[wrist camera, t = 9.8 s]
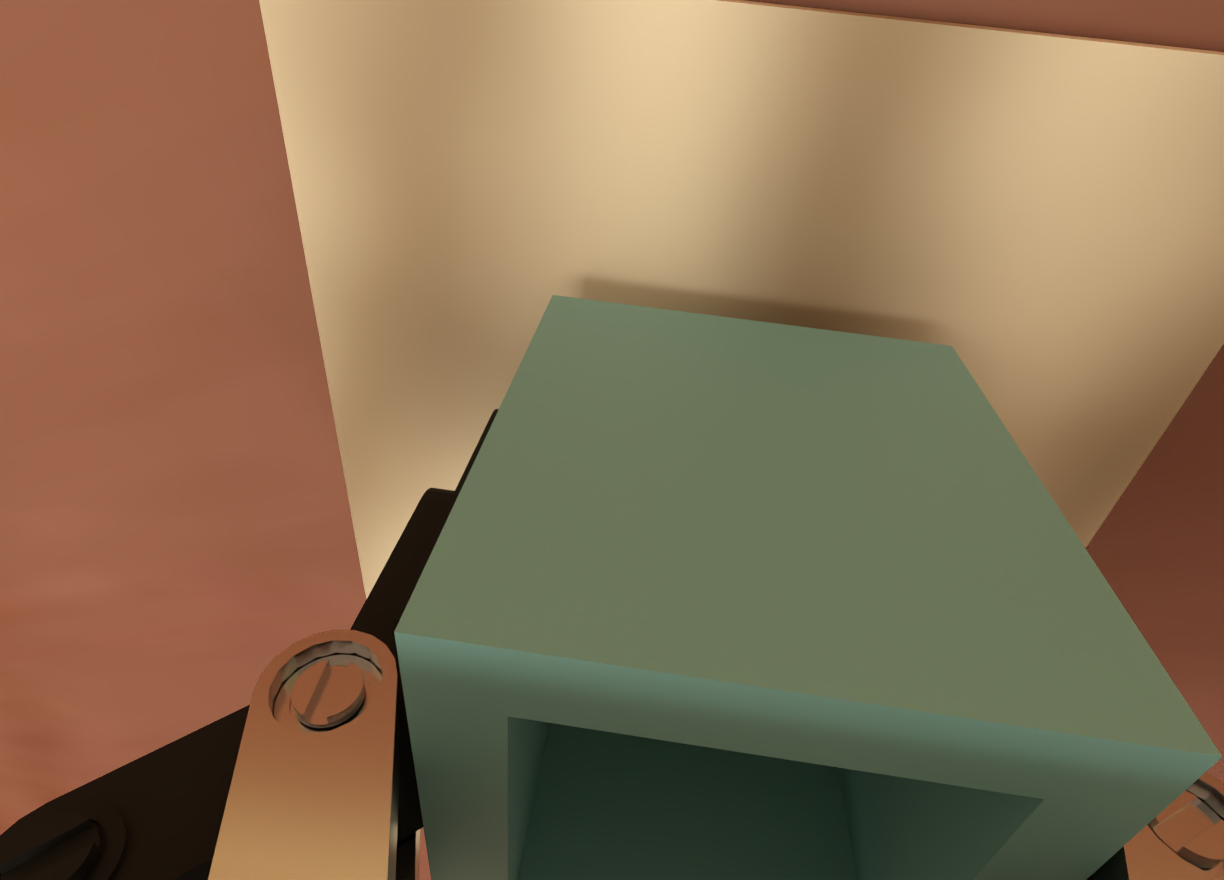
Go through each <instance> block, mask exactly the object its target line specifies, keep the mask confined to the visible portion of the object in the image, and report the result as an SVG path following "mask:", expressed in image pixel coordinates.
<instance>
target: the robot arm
mask: <svg viewBox="0 0 1224 880" xmlns="http://www.w3.org/2000/svg"><path fill="white" fill-rule="evenodd" d="M498 410H499V409H495V410H494V411H493V413H492V415H491V417H490V419H489V421H488V423H487V425H486V427H485V429H484V431H483V433H482V435H481V437H480V440H479V442H478V444H477V446H476V448H475V450H474V452H473V454H472V456H471V458H470V460H469V462H468V465H467V467H466V469H465V471H464V473H463V475H462V477H461V479H460V481H459V483H458V485H457V487H456V489H455V491H453V490H445V489H438V488H429V489H428V490H426V492H425V493H424V494H423V496H422V497H421V499H420V501H419V503H418V505H417V507H416V508H415V510H414V512H413V514H412V516H411V518H410V520H409V521H408V523H407V525H406V527H405V529H404V531H403V533H402V535H401V536H400V538H399V540H398V542H397V544H396V546H395V548H394V549H393V551H392V553H391V555H390V557H389V559H388V561H387V562H386V564H385V566H384V568H383V570H382V572H381V574H380V575H379V577H378V579H377V581H376V583H375V585H374V587H373V588H372V590H371V592H370V594H369V596H368V598H367V600H366V601H365V603H364V605H363V607H362V609H361V611H360V613H359V614H358V616H357V618H356V620H355V622H354V624H353V626H352V627H351V629H350V630H331V631H326V632H322V633H317V634H313V635H311V636H309V637H306V638H304V639H302V640H300V641H298V642H296V643H293V644H292V645H290V646H289V647H288V648H286V649H285V650H284V651H282V652H281V653H280V654H278V655H277V656H276V657H275V658H274V659H273V660H272V661H271V662H270V664H269V665H268V666H267V667H266V668H265V670H264V671H263V672H262V673H261V675H260V677H259V680H258V682H257V684H256V687H255V689H254V691H253V694H252V698H251V703H250V705H248V706H246V707H244V708H242V709H240V710H238V711H236V712H234V713H232V714H230V715H228V716H226V717H224V718H221V719H219V720H217V721H215V722H213V723H211V724H209V725H207V726H205V727H203V728H201V729H199V730H197V731H195V732H193V733H190V734H188V735H186V736H184V737H182V738H180V739H178V740H176V741H174V742H172V743H170V744H168V745H166V746H164V747H162V748H159V749H157V750H155V751H153V752H151V753H149V754H147V755H145V756H143V757H141V758H139V759H137V760H135V761H133V762H130V763H128V764H126V765H124V766H122V767H120V768H118V769H116V770H114V771H112V772H110V773H108V774H106V775H104V776H102V777H99V778H97V779H95V780H93V781H91V782H89V783H87V784H85V785H83V786H81V787H79V788H77V789H75V790H73V791H71V792H68V793H66V794H64V795H62V796H60V797H58V798H56V799H54V800H52V801H50V802H48V803H46V804H44V805H43V806H41V807H39V808H38V809H36V810H34V811H33V812H31V813H29V814H28V815H26V816H24V817H23V818H21V819H19V820H18V821H17V822H16V823H15V824H13V825H12V826H11V827H10V828H9V829H8V830H6V831H5V832H4V833H3V834H2V835H1V836H0V880H419V859H420V829H421V828H422V827H424V826H423V820H422V813H421V807H420V800H419V793H418V787H417V780H416V773H415V767H414V760H413V753H412V747H411V740H410V734H409V727H408V720H407V714H406V707H405V700H404V694H403V687H402V681H401V674H400V667H399V661H398V654H397V647H396V641H395V634H394V631H395V629H396V627H397V625H398V623H399V621H400V619H401V616H402V614H403V612H404V610H405V608H406V606H407V604H408V602H409V599H410V597H411V595H412V593H413V591H414V589H415V587H416V585H417V582H418V580H419V578H420V576H421V574H422V572H423V570H424V568H425V565H426V563H427V561H428V559H429V557H430V555H431V553H432V551H433V548H434V546H435V544H436V542H437V540H438V538H439V536H440V534H441V531H442V529H443V527H444V525H445V523H446V521H447V519H448V516H449V514H450V512H451V510H452V508H453V506H454V504H455V502H456V499H457V497H458V495H459V493H460V491H461V489H462V487H463V485H464V482H465V480H466V478H467V476H468V474H469V472H470V470H471V468H472V465H473V463H474V461H475V459H476V457H477V455H478V453H479V451H480V448H481V446H482V444H483V442H484V440H485V438H486V436H487V433H488V431H489V429H490V427H491V425H492V423H493V421H494V419H495V416H496V414H497V412H498ZM1087 880H1224V783H1222V782H1221V781H1219V780H1218V779H1217V778H1215V777H1214V776H1212V775H1211V774H1209V773H1208V772H1205V773H1204V774H1203V775H1202V776H1201V777H1200V778H1198V779H1197V780H1196V781H1195V782H1194V783H1193V784H1192V785H1191V786H1190V787H1188V788H1187V789H1186V790H1185V791H1184V792H1183V793H1182V794H1181V795H1180V796H1179V797H1177V798H1176V799H1175V800H1174V801H1173V802H1172V803H1171V804H1170V805H1169V806H1167V807H1166V808H1165V809H1164V810H1163V811H1162V812H1161V813H1160V814H1159V815H1157V816H1156V817H1155V818H1154V819H1153V820H1152V821H1151V822H1150V823H1149V824H1147V825H1146V826H1145V827H1144V828H1143V829H1142V830H1141V831H1140V832H1139V833H1138V834H1136V835H1135V836H1134V837H1133V838H1132V839H1131V840H1130V841H1129V842H1128V843H1126V844H1125V845H1124V846H1123V847H1122V848H1121V849H1120V850H1119V851H1118V852H1116V853H1115V854H1114V855H1113V856H1112V857H1111V858H1110V859H1109V860H1108V861H1107V862H1105V863H1104V864H1103V865H1102V866H1101V867H1100V868H1099V869H1098V870H1097V871H1095V872H1094V873H1093V874H1092V875H1091V876H1090V877H1089V878H1088V879H1087Z"/></svg>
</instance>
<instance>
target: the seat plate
mask: <svg viewBox="0 0 1224 880" xmlns="http://www.w3.org/2000/svg"><path fill="white" fill-rule="evenodd" d="M259 1H260V7H261V12H262V18H263V23H264V29H265V35H266V40H267V46H268V51H269V57H270V62H271V68H272V74H273V79H274V85H275V90H276V96H277V102H278V107H279V113H280V118H281V124H282V130H283V135H284V141H285V146H286V152H287V158H288V163H289V169H290V174H291V180H292V186H293V191H294V197H295V202H296V208H297V213H298V219H299V225H300V230H301V236H302V241H303V247H304V253H305V258H306V264H307V269H308V275H309V281H310V286H311V292H312V297H313V303H314V309H315V314H316V320H317V325H318V331H319V336H320V342H321V348H322V353H323V359H324V364H325V370H326V376H327V381H328V387H329V392H330V398H331V404H332V409H333V415H334V420H335V426H336V432H337V437H338V443H339V448H340V454H341V460H342V465H343V471H344V476H345V482H346V487H347V493H348V499H349V504H350V510H351V515H352V521H353V527H354V532H355V538H356V543H357V549H358V555H359V560H360V566H361V571H362V577H363V583H364V588H365V594H366V599H367V598H368V596H369V594H370V592H371V590H372V588H373V587H374V585H375V583H376V581H377V579H378V577H379V575H380V574H381V572H382V570H383V568H384V566H385V564H386V562H387V561H388V559H389V557H390V555H391V553H392V551H393V549H394V548H395V546H396V544H397V542H398V540H399V538H400V536H401V535H402V533H403V531H404V529H405V527H406V525H407V523H408V521H409V520H410V518H411V516H412V514H413V512H414V510H415V508H416V507H417V505H418V503H419V501H420V499H421V497H422V496H423V494H424V493H425V492H426V490H428V489H429V488H438V489H445V490H453V491H455V489H456V487H457V485H458V483H459V481H460V479H461V477H462V475H463V473H464V471H465V469H466V467H467V465H468V462H469V460H470V458H471V456H472V454H473V452H474V450H475V448H476V446H477V444H478V442H479V440H480V437H481V435H482V433H483V431H484V429H485V427H486V425H487V423H488V421H489V419H490V417H491V415H492V413H493V411H494V410H495V409H499V408H500V406H501V404H502V402H503V399H504V397H505V395H506V393H507V391H508V389H509V387H510V385H511V382H512V380H513V378H514V376H515V374H516V372H517V370H518V368H519V365H520V363H521V361H522V359H523V357H524V355H525V353H526V351H527V348H528V346H529V344H530V342H531V340H532V338H533V336H534V333H535V331H536V329H537V327H538V325H539V323H540V321H541V319H542V316H543V314H544V312H545V310H546V308H547V306H548V304H549V302H550V299H551V297H552V295H558V296H566V297H573V298H581V299H589V300H597V301H605V302H613V303H620V304H628V305H636V306H644V307H652V308H659V309H667V310H675V311H683V312H691V313H699V314H706V315H714V316H722V317H730V318H738V319H746V320H753V321H761V322H769V323H777V324H785V325H792V326H800V327H808V328H816V329H824V330H832V331H839V332H847V333H855V334H863V335H871V336H879V337H886V338H894V339H902V340H910V341H918V342H925V343H933V344H941V345H949V346H952V347H953V348H954V350H955V351H956V353H957V354H958V356H959V357H960V359H961V360H962V362H963V363H964V365H965V366H966V368H967V369H968V371H969V372H970V374H971V375H972V377H973V379H974V380H975V382H976V383H977V385H978V386H979V388H980V389H981V391H982V392H983V394H984V395H985V397H986V398H987V400H988V401H989V403H990V404H991V406H992V407H993V409H994V410H995V412H996V413H997V415H998V417H999V418H1000V420H1001V421H1002V423H1003V424H1004V426H1005V427H1006V429H1007V430H1008V432H1009V433H1010V435H1011V436H1012V438H1013V439H1014V441H1015V442H1016V444H1017V445H1018V447H1019V448H1020V450H1021V451H1022V453H1023V455H1024V456H1025V458H1026V459H1027V461H1028V462H1029V464H1030V465H1031V467H1032V468H1033V470H1034V471H1035V473H1036V474H1037V476H1038V477H1039V479H1040V480H1041V482H1042V483H1043V485H1044V486H1045V488H1046V489H1047V491H1048V492H1049V494H1050V496H1051V497H1052V499H1053V500H1054V502H1055V503H1056V505H1057V506H1058V508H1059V509H1060V511H1061V512H1062V514H1063V515H1064V517H1065V518H1066V520H1067V521H1068V523H1069V524H1070V526H1071V527H1072V529H1073V530H1074V532H1075V534H1076V535H1077V537H1078V538H1079V540H1080V541H1081V543H1082V544H1083V546H1084V547H1085V548H1086V547H1087V545H1088V544H1089V542H1090V541H1091V540H1092V538H1093V537H1094V535H1095V534H1096V532H1097V531H1098V529H1099V528H1100V526H1101V525H1102V523H1103V522H1104V520H1105V519H1106V517H1107V516H1108V514H1109V513H1110V511H1111V510H1112V508H1113V507H1114V505H1115V504H1116V503H1117V501H1118V500H1119V498H1120V497H1121V495H1122V494H1123V492H1124V491H1125V489H1126V488H1127V486H1128V485H1129V483H1130V482H1131V480H1132V479H1133V477H1134V476H1135V474H1136V473H1137V471H1138V470H1139V468H1140V467H1141V466H1142V464H1143V463H1144V461H1145V460H1146V458H1147V457H1148V455H1149V454H1150V452H1151V451H1152V449H1153V448H1154V446H1155V445H1156V443H1157V442H1158V440H1159V439H1160V437H1161V436H1162V434H1163V433H1164V431H1165V430H1166V428H1167V427H1168V426H1169V424H1170V423H1171V421H1172V420H1173V418H1174V417H1175V415H1176V414H1177V412H1178V411H1179V409H1180V408H1181V406H1182V405H1183V403H1184V402H1185V400H1186V399H1187V397H1188V396H1189V394H1190V393H1191V391H1192V390H1193V389H1194V387H1195V386H1196V384H1197V383H1198V381H1199V380H1200V378H1201V377H1202V375H1203V374H1204V372H1205V371H1206V369H1207V368H1208V366H1209V365H1210V363H1211V362H1212V360H1213V359H1214V357H1215V356H1216V354H1217V353H1218V351H1219V350H1220V349H1221V347H1222V346H1223V344H1224V52H1218V51H1209V50H1199V49H1190V48H1181V47H1172V46H1162V45H1153V44H1144V43H1135V42H1125V41H1116V40H1107V39H1098V38H1088V37H1079V36H1070V35H1061V34H1051V33H1042V32H1033V31H1023V30H1014V29H1005V28H996V27H986V26H977V25H968V24H959V23H949V22H940V21H931V20H922V19H912V18H903V17H894V16H885V15H875V14H866V13H857V12H847V11H838V10H829V9H820V8H810V7H801V6H792V5H783V4H773V3H764V2H755V1H746V0H259Z"/></svg>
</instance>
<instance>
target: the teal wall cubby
mask: <svg viewBox="0 0 1224 880" xmlns="http://www.w3.org/2000/svg"><path fill="white" fill-rule="evenodd" d="M394 634H395V641H396V647H397V654H398V661H399V667H400V674H401V681H402V687H403V694H404V700H405V707H406V714H407V720H408V727H409V734H410V740H411V747H412V753H413V760H414V767H415V773H416V780H417V787H418V793H419V800H420V807H421V813H422V820H423V826H424V833H425V840H426V846H427V853H428V860H429V866H430V873H431V880H1087V879H1088V878H1089V877H1090V876H1091V875H1092V874H1093V873H1094V872H1095V871H1097V870H1098V869H1099V868H1100V867H1101V866H1102V865H1103V864H1104V863H1105V862H1107V861H1108V860H1109V859H1110V858H1111V857H1112V856H1113V855H1114V854H1115V853H1116V852H1118V851H1119V850H1120V849H1121V848H1122V847H1123V846H1124V845H1125V844H1126V843H1128V842H1129V841H1130V840H1131V839H1132V838H1133V837H1134V836H1135V835H1136V834H1138V833H1139V832H1140V831H1141V830H1142V829H1143V828H1144V827H1145V826H1146V825H1147V824H1149V823H1150V822H1151V821H1152V820H1153V819H1154V818H1155V817H1156V816H1157V815H1159V814H1160V813H1161V812H1162V811H1163V810H1164V809H1165V808H1166V807H1167V806H1169V805H1170V804H1171V803H1172V802H1173V801H1174V800H1175V799H1176V798H1177V797H1179V796H1180V795H1181V794H1182V793H1183V792H1184V791H1185V790H1186V789H1187V788H1188V787H1190V786H1191V785H1192V784H1193V783H1194V782H1195V781H1196V780H1197V779H1198V778H1200V777H1201V776H1202V775H1203V774H1204V773H1205V772H1206V771H1207V770H1208V769H1210V768H1211V767H1212V766H1213V765H1214V764H1215V763H1216V762H1217V761H1218V760H1220V759H1221V758H1222V755H1221V754H1220V752H1219V751H1218V749H1217V748H1216V746H1215V745H1214V743H1213V742H1212V740H1211V739H1210V737H1209V736H1208V734H1207V733H1206V731H1205V729H1204V728H1203V726H1202V725H1201V723H1200V722H1199V720H1198V719H1197V717H1196V716H1195V714H1194V713H1193V711H1192V710H1191V708H1190V707H1189V705H1188V704H1187V702H1186V701H1185V699H1184V698H1183V696H1182V695H1181V693H1180V692H1179V690H1178V688H1177V687H1176V685H1175V684H1174V682H1173V681H1172V679H1171V678H1170V676H1169V675H1168V673H1167V672H1166V670H1165V669H1164V667H1163V666H1162V664H1161V663H1160V661H1159V660H1158V658H1157V657H1156V655H1155V654H1154V652H1153V650H1152V649H1151V647H1150V646H1149V644H1148V643H1147V641H1146V640H1145V638H1144V637H1143V635H1142V634H1141V632H1140V631H1139V629H1138V628H1137V626H1136V625H1135V623H1134V622H1133V620H1132V619H1131V617H1130V616H1129V614H1128V613H1127V611H1126V609H1125V608H1124V606H1123V605H1122V603H1121V602H1120V600H1119V599H1118V597H1117V596H1116V594H1115V593H1114V591H1113V590H1112V588H1111V587H1110V585H1109V584H1108V582H1107V581H1106V579H1105V578H1104V576H1103V575H1102V573H1101V571H1100V570H1099V568H1098V567H1097V565H1096V564H1095V562H1094V561H1093V559H1092V558H1091V556H1090V555H1089V553H1088V552H1087V550H1086V549H1085V547H1084V546H1083V544H1082V543H1081V541H1080V540H1079V538H1078V537H1077V535H1076V534H1075V532H1074V530H1073V529H1072V527H1071V526H1070V524H1069V523H1068V521H1067V520H1066V518H1065V517H1064V515H1063V514H1062V512H1061V511H1060V509H1059V508H1058V506H1057V505H1056V503H1055V502H1054V500H1053V499H1052V497H1051V496H1050V494H1049V492H1048V491H1047V489H1046V488H1045V486H1044V485H1043V483H1042V482H1041V480H1040V479H1039V477H1038V476H1037V474H1036V473H1035V471H1034V470H1033V468H1032V467H1031V465H1030V464H1029V462H1028V461H1027V459H1026V458H1025V456H1024V455H1023V453H1022V451H1021V450H1020V448H1019V447H1018V445H1017V444H1016V442H1015V441H1014V439H1013V438H1012V436H1011V435H1010V433H1009V432H1008V430H1007V429H1006V427H1005V426H1004V424H1003V423H1002V421H1001V420H1000V418H999V417H998V415H997V413H996V412H995V410H994V409H993V407H992V406H991V404H990V403H989V401H988V400H987V398H986V397H985V395H984V394H983V392H982V391H981V389H980V388H979V386H978V385H977V383H976V382H975V380H974V379H973V377H972V375H971V374H970V372H969V371H968V369H967V368H966V366H965V365H964V363H963V362H962V360H961V359H960V357H959V356H958V354H957V353H956V351H955V350H954V348H953V347H952V346H949V345H941V344H933V343H925V342H918V341H910V340H902V339H894V338H886V337H879V336H871V335H863V334H855V333H847V332H839V331H832V330H824V329H816V328H808V327H800V326H792V325H785V324H777V323H769V322H761V321H753V320H746V319H738V318H730V317H722V316H714V315H706V314H699V313H691V312H683V311H675V310H667V309H659V308H652V307H644V306H636V305H628V304H620V303H613V302H605V301H597V300H589V299H581V298H573V297H566V296H558V295H552V297H551V299H550V302H549V304H548V306H547V308H546V310H545V312H544V314H543V316H542V319H541V321H540V323H539V325H538V327H537V329H536V331H535V333H534V336H533V338H532V340H531V342H530V344H529V346H528V348H527V351H526V353H525V355H524V357H523V359H522V361H521V363H520V365H519V368H518V370H517V372H516V374H515V376H514V378H513V380H512V382H511V385H510V387H509V389H508V391H507V393H506V395H505V397H504V399H503V402H502V404H501V406H500V408H499V410H498V412H497V414H496V416H495V419H494V421H493V423H492V425H491V427H490V429H489V431H488V433H487V436H486V438H485V440H484V442H483V444H482V446H481V448H480V451H479V453H478V455H477V457H476V459H475V461H474V463H473V465H472V468H471V470H470V472H469V474H468V476H467V478H466V480H465V482H464V485H463V487H462V489H461V491H460V493H459V495H458V497H457V499H456V502H455V504H454V506H453V508H452V510H451V512H450V514H449V516H448V519H447V521H446V523H445V525H444V527H443V529H442V531H441V534H440V536H439V538H438V540H437V542H436V544H435V546H434V548H433V551H432V553H431V555H430V557H429V559H428V561H427V563H426V565H425V568H424V570H423V572H422V574H421V576H420V578H419V580H418V582H417V585H416V587H415V589H414V591H413V593H412V595H411V597H410V599H409V602H408V604H407V606H406V608H405V610H404V612H403V614H402V616H401V619H400V621H399V623H398V625H397V627H396V629H395V631H394Z"/></svg>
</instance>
